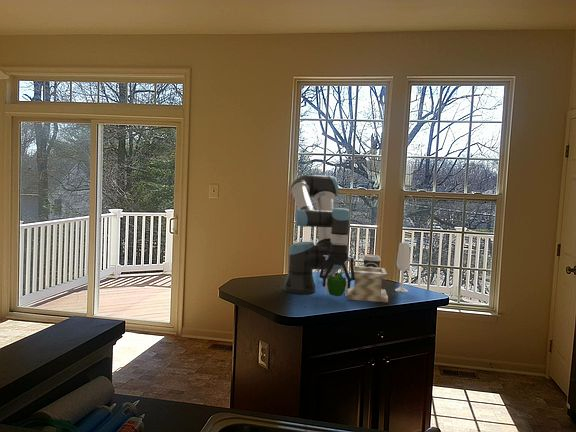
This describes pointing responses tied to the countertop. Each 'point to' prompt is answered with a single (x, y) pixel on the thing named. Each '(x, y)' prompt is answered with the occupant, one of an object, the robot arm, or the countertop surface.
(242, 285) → the countertop surface
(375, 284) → the display stand
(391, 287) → the countertop surface
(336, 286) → the bell pepper
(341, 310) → the countertop surface
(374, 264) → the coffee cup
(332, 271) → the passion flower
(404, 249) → the champagne flute
